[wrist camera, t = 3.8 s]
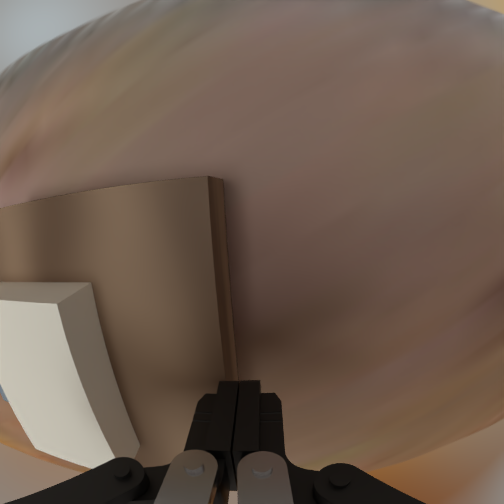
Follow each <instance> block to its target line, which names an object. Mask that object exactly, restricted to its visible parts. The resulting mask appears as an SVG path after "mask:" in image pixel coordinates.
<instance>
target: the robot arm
mask: <svg viewBox="0 0 504 504" xmlns="http://www.w3.org/2000/svg"><path fill="white" fill-rule="evenodd" d="M237 487H238V504H426V503H423V502H421V501H419V500H417V499H415V498H413V497H411V496H409V495H406V494H405V493H403V492H401V491H399V490H397V489H395V488H393V487H391V486H389V485H387V484H385V483H383V482H382V481H380V480H378V479H376V478H374V477H373V476H371V475H369V474H367V473H365V472H364V471H362V470H360V469H359V468H357V467H355V466H353V465H350V464H345V463H336V464H332V465H328V466H326V467H324V468H323V469H321V470H320V471H314V470H307V469H303V468H300V467H297V466H295V465H294V464H292V463H291V462H290V461H289V460H288V458H287V457H286V454H285V446H284V432H283V418H282V405H281V400H280V399H279V398H278V396H277V395H276V394H275V393H261V385H260V380H248V381H240V382H239V381H219V384H218V389H217V394H210V393H206V394H205V395H204V396H203V397H202V398H201V399H200V400H199V401H198V402H197V406H196V409H195V413H194V416H193V422H192V423H191V427H190V430H189V434H188V437H187V441H186V444H185V448H184V451H183V452H182V453H180V454H178V455H177V456H175V457H174V459H173V460H172V462H171V463H170V464H167V465H163V466H155V467H144V468H143V466H142V465H141V463H140V462H138V461H137V460H135V459H133V458H129V457H118V458H114V459H112V460H110V461H108V462H106V463H104V464H101V465H99V466H97V467H95V468H93V469H91V470H89V471H87V472H84V473H82V474H80V475H78V476H76V477H73V478H71V479H69V480H66V481H64V482H62V483H59V484H57V485H54V486H52V487H49V488H47V489H44V490H42V491H39V492H37V493H34V494H31V495H28V496H26V497H23V498H20V499H17V500H14V501H11V502H8V503H5V504H228V499H229V491H237Z"/></svg>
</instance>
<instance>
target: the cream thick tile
mask: <svg viewBox="0 0 504 504" xmlns="http://www.w3.org/2000/svg"><path fill="white" fill-rule="evenodd" d="M0 385H1V387H2V389H3V391H4V393H5V395H6V397H7V399H8V401H9V403H10V405H11V407H12V409H13V411H14V413H15V415H16V416H17V418H18V420H19V422H20V424H21V425H22V427H23V429H24V431H25V432H26V434H27V436H28V437H29V439H30V440H31V442H32V444H33V445H34V447H35V448H36V449H38V450H40V451H43V452H45V453H48V454H50V455H53V456H56V457H58V458H61V459H64V460H67V461H70V462H73V463H76V464H79V465H82V466H85V467H88V468H92V469H93V468H95V467H97V466H99V465H101V464H104V463H106V462H108V461H110V460H112V459H114V458H118V457H129V458H133V459H134V458H135V456H136V454H137V451H138V449H139V447H140V444H139V441H138V439H137V436H136V434H135V432H134V429H133V427H132V424H131V421H130V419H129V416H128V414H127V411H126V408H125V405H124V403H123V400H122V397H121V394H120V391H119V388H118V385H117V382H116V379H115V376H114V373H113V370H112V366H111V363H110V359H109V356H108V353H107V349H106V345H105V342H104V338H103V334H102V330H101V326H100V322H99V317H98V313H97V309H96V304H95V299H94V294H93V289H92V284H91V282H0Z"/></svg>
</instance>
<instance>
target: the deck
mask: <svg viewBox="0 0 504 504" xmlns="http://www.w3.org/2000/svg"><path fill="white" fill-rule="evenodd" d="M0 282H91V284H92V289H93V294H94V299H95V304H96V309H97V313H98V317H99V322H100V326H101V330H102V334H103V338H104V342H105V345H106V349H107V353H108V356H109V359H110V363H111V366H112V370H113V373H114V376H115V379H116V382H117V385H118V388H119V391H120V394H121V397H122V400H123V403H124V405H125V408H126V411H127V414H128V416H129V419H130V421H131V424H132V427H133V429H134V432H135V434H136V436H137V439H138V441H139V444H140V447H139V449H138V451H137V454H136V456H135V458H134V459H135V460H137V461H138V462H140V463H141V465H142V466H143V468H144V467H155V466H163V465H167V464H170V463H171V462H172V460H173V459H174V457H175V456H177V455H178V454H180V453H182V452H183V451H184V448H185V444H186V441H187V437H188V434H189V430H190V427H191V423H192V422H193V416H194V413H195V409H196V406H197V402H198V401H199V400H200V399H201V398H202V397H203V396H204V395H205V394H206V393H210V394H217V389H218V384H219V381H238V370H237V360H236V349H235V338H234V326H233V315H232V303H231V290H230V277H229V264H228V250H227V236H226V221H225V205H224V189H223V179H220V178H215V177H210V176H203V177H191V178H181V179H171V180H162V181H153V182H145V183H137V184H130V185H122V186H115V187H108V188H102V189H95V190H89V191H83V192H77V193H72V194H66V195H61V196H55V197H50V198H45V199H40V200H35V201H30V202H26V203H21V204H17V205H12V206H8V207H4V208H0ZM237 488H238V487H237Z"/></svg>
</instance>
